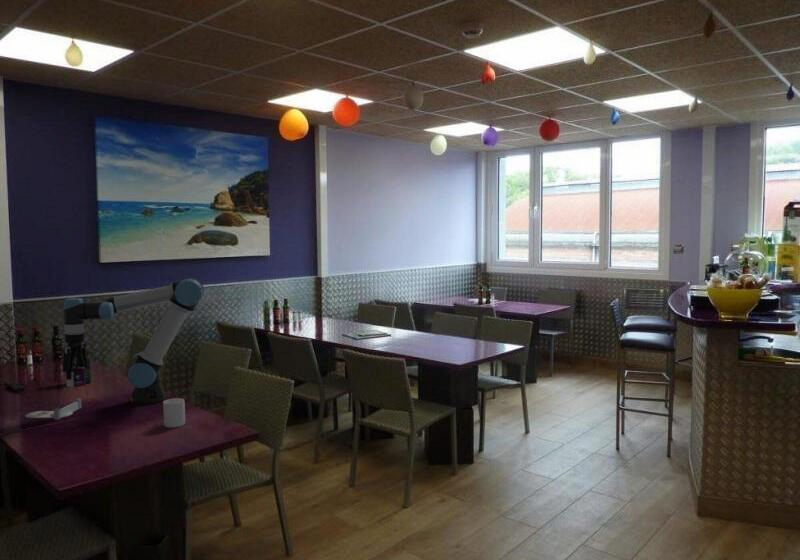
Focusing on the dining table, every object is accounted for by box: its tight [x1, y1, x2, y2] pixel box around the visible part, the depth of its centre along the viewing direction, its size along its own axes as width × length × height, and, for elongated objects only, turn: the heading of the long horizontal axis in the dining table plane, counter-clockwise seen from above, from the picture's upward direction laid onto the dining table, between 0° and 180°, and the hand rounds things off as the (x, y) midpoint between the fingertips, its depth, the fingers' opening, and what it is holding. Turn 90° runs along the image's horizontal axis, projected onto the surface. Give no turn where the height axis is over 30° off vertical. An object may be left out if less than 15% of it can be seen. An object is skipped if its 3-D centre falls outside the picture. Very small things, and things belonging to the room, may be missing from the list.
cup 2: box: [162, 397, 186, 429], centre depth 251 cm, size 8×12×10 cm
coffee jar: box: [73, 349, 92, 385], centre depth 320 cm, size 10×8×19 cm
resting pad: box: [25, 410, 74, 419], centre depth 265 cm, size 20×9×1 cm, turn 87°
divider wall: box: [53, 397, 82, 421], centre depth 266 cm, size 2×18×4 cm, turn 178°
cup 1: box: [72, 368, 87, 388], centre depth 265 cm, size 7×10×7 cm
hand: (76, 383), depth 265 cm, fingers closed on cup 1, 8 cm apart
